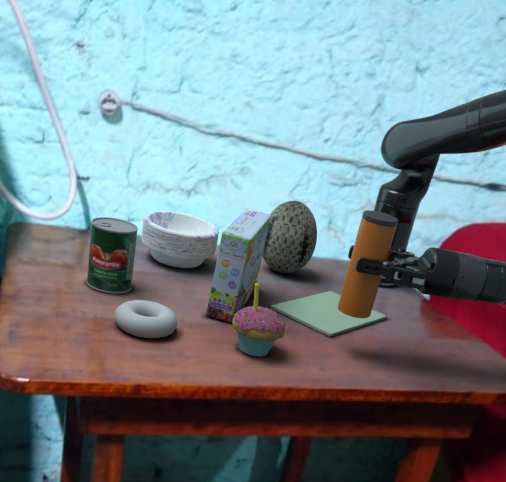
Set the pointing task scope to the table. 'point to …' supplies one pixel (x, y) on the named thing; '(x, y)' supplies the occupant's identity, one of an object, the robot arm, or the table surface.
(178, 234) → the paper bowls
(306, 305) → the placemat
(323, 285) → the table surface
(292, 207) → the decorative egg
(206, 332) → the table surface
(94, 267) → the canned tomato
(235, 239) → the snack box
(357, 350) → the table surface
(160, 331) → the donut
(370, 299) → the crisps tube
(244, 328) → the cupcake
